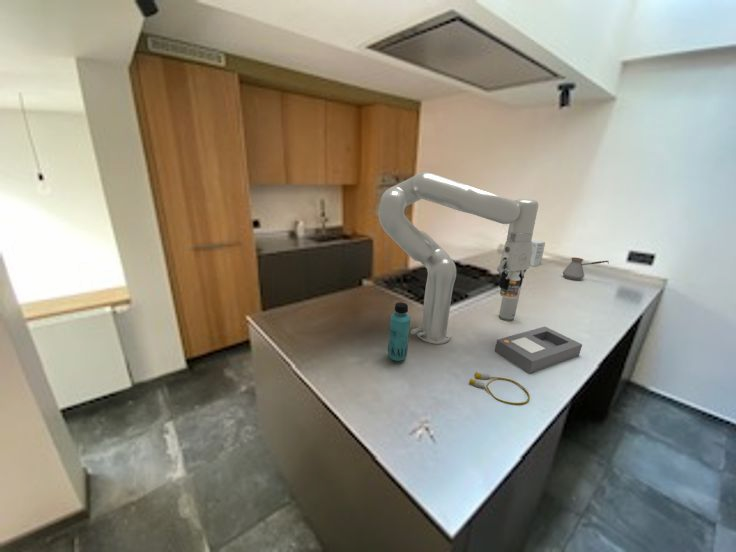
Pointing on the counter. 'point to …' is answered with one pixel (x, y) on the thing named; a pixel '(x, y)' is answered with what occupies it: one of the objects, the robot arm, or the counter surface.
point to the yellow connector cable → (486, 376)
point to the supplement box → (537, 252)
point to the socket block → (537, 349)
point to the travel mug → (509, 307)
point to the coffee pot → (577, 269)
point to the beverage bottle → (399, 332)
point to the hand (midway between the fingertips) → (509, 286)
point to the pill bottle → (512, 286)
